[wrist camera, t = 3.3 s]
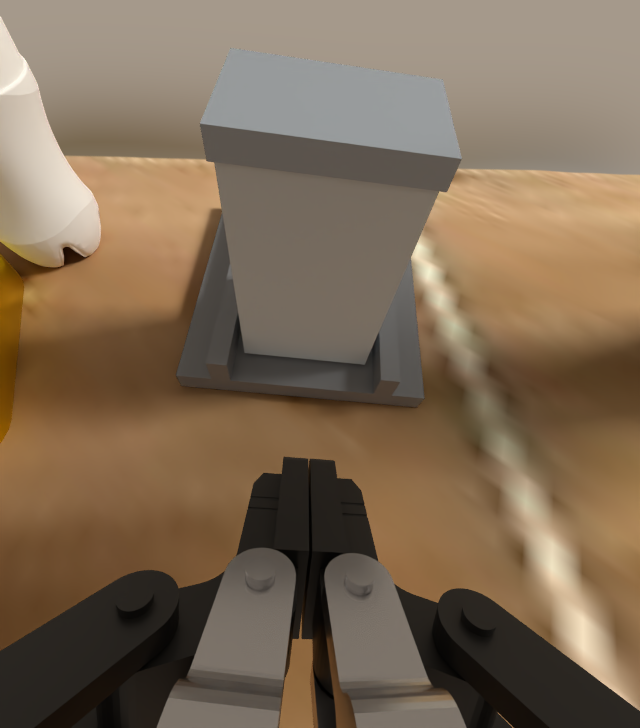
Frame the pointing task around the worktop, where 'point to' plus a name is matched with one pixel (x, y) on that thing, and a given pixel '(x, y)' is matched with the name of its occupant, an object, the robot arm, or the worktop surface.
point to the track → (295, 375)
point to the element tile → (8, 338)
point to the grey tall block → (323, 194)
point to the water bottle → (37, 174)
